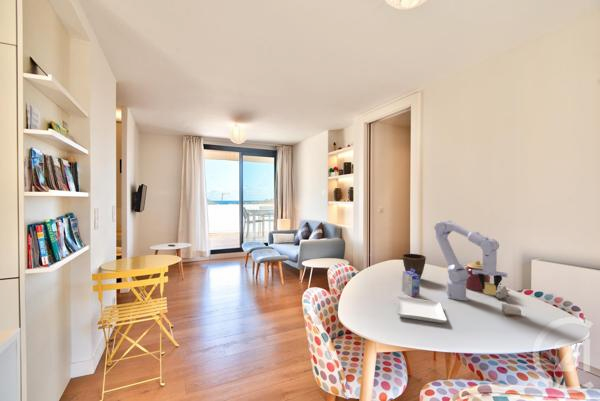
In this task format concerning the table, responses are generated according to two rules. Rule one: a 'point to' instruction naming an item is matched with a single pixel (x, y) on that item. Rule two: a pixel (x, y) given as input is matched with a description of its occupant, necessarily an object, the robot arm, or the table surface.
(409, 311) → the salad plate
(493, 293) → the mustard cube
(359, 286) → the table surface
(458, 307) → the table surface
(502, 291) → the game die
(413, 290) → the ink cartridge box
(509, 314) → the tower base slab
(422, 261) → the plant pot
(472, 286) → the canister
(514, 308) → the tower top slab
